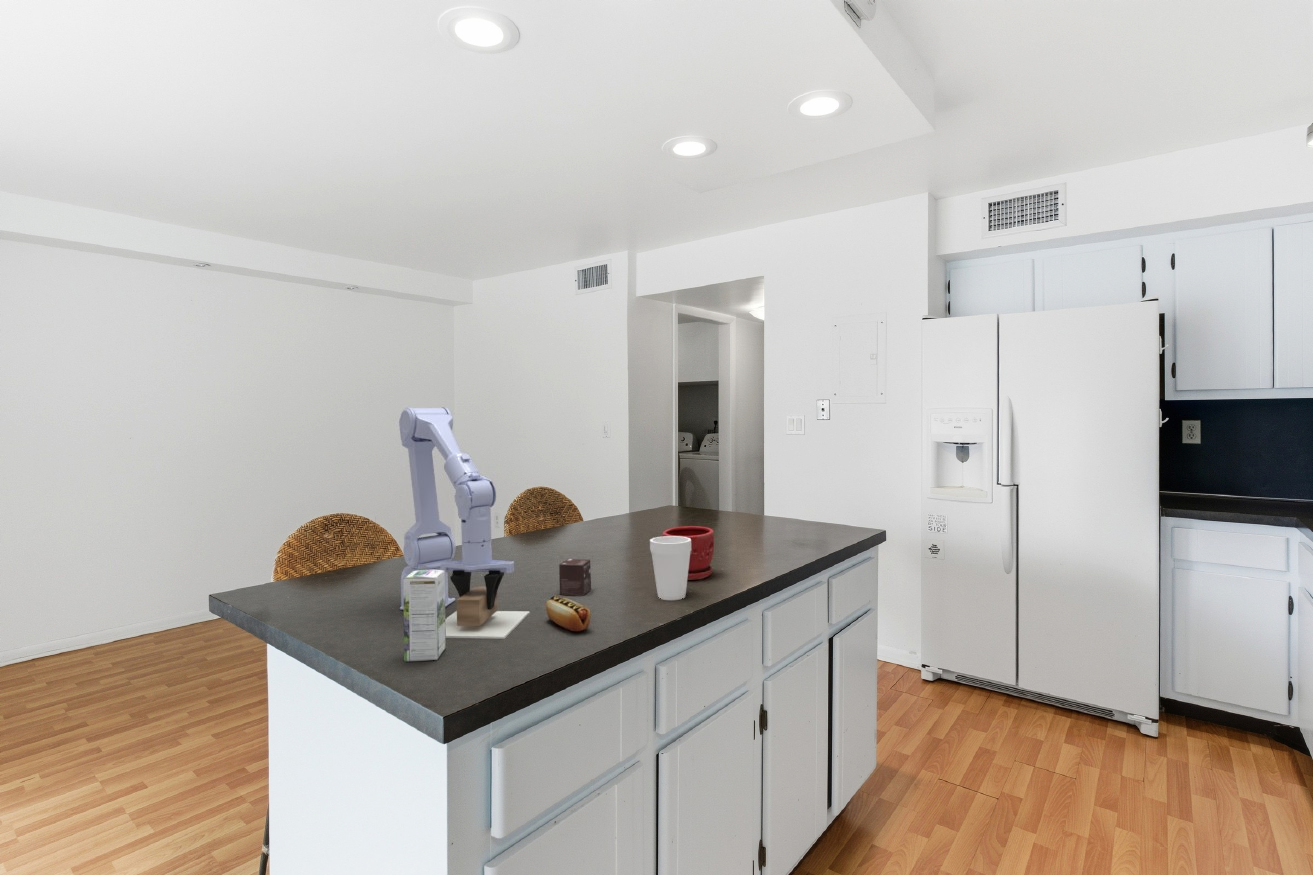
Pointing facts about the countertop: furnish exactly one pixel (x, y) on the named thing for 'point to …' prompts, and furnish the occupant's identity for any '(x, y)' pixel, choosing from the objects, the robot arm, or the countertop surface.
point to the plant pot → (697, 549)
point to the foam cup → (671, 565)
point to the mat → (486, 626)
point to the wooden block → (474, 607)
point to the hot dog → (568, 613)
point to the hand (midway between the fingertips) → (478, 607)
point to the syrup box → (424, 615)
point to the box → (575, 577)
